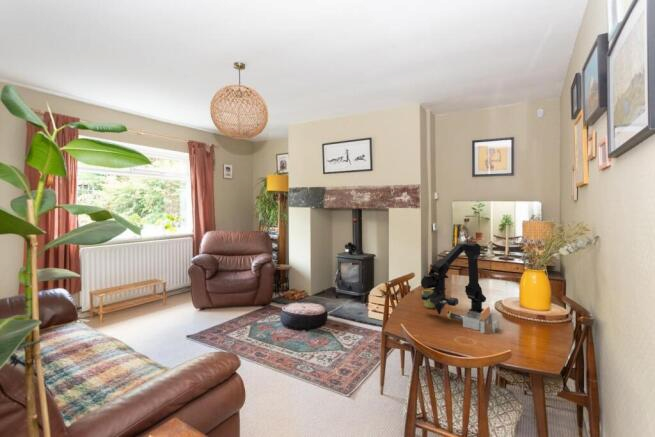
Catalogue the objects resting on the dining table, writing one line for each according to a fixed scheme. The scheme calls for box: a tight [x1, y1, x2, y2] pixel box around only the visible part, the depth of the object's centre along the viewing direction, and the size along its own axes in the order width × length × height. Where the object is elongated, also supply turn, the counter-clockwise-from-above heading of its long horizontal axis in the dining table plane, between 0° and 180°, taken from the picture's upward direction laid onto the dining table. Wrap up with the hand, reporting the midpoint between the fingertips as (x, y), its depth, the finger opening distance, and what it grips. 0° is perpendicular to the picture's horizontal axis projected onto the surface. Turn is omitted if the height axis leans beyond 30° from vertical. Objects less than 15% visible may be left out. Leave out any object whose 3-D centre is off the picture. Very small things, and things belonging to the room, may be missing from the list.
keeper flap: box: [481, 306, 491, 322], centre depth 165 cm, size 12×5×1 cm
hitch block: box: [462, 311, 499, 334], centre depth 167 cm, size 14×14×6 cm
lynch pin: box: [446, 310, 464, 322], centre depth 173 cm, size 4×13×4 cm, turn 49°
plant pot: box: [421, 289, 436, 309], centre depth 199 cm, size 9×9×9 cm
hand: (439, 314), depth 181 cm, fingers closed
